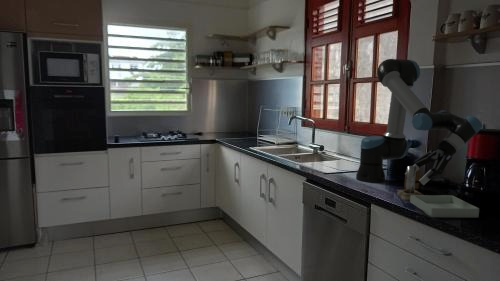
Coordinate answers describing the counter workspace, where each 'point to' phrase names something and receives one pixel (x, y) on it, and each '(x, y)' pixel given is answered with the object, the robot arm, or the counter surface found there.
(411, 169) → the lock pin
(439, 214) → the tray
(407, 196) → the pin dock
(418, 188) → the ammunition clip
